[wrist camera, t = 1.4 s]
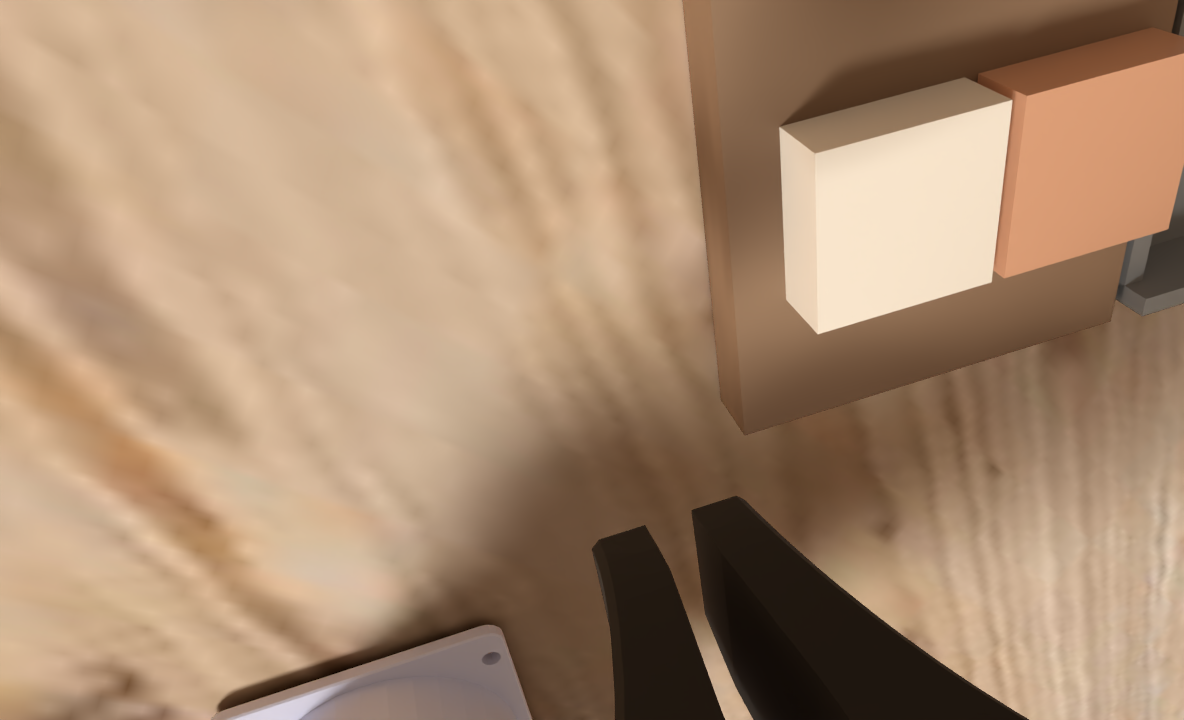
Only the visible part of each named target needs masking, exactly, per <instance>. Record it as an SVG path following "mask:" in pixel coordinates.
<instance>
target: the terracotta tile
mask: <svg viewBox="0 0 1184 720" xmlns="http://www.w3.org/2000/svg"><path fill="white" fill-rule="evenodd" d="M977 83H978V84H980V85H982V86H984V87H986V88H989V89H991V90H993V91H995V92H997V93H999V94H1001V95H1003V96H1005V97H1008V98H1010V99H1012V100H1013V101H1012V110H1011V118H1010V127H1009V136H1008V144H1007V153H1006V162H1005V170H1004V179H1003V188H1002V196H1001V205H1000V214H999V222H998V231H997V240H996V248H995V257H994V266H993V271H995V272H996V273H997V274H999V275H1000V276H1002V277H1003V278H1007V277H1011V276H1014V275H1017V274H1021V273H1024V272H1027V271H1031V270H1034V269H1037V268H1041V267H1044V266H1047V265H1051V264H1054V263H1057V262H1061V261H1064V260H1067V259H1071V258H1074V257H1077V256H1081V255H1084V254H1087V253H1091V252H1094V251H1097V250H1101V249H1104V248H1107V247H1111V246H1114V245H1117V244H1121V243H1124V242H1127V241H1131V240H1134V239H1137V238H1141V237H1144V236H1147V235H1151V234H1154V233H1157V232H1161V231H1164V230H1167V229H1168V228H1169V224H1170V220H1171V216H1172V211H1173V207H1174V203H1175V199H1176V195H1177V190H1178V186H1179V182H1180V178H1181V174H1182V169H1183V165H1184V37H1183V36H1179V35H1176V34H1173V33H1170V32H1167V31H1163V30H1160V29H1157V28H1154V27H1151V28H1148V29H1144V30H1140V31H1136V32H1133V33H1129V34H1125V35H1121V36H1118V37H1114V38H1110V39H1106V40H1103V41H1099V42H1095V43H1091V44H1088V45H1084V46H1080V47H1076V48H1073V49H1069V50H1065V51H1061V52H1058V53H1054V54H1050V55H1046V56H1043V57H1039V58H1035V59H1031V60H1028V61H1024V62H1020V63H1016V64H1013V65H1009V66H1005V67H1001V68H998V69H994V70H990V71H986V72H983V73H979V74H978V82H977Z"/></svg>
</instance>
